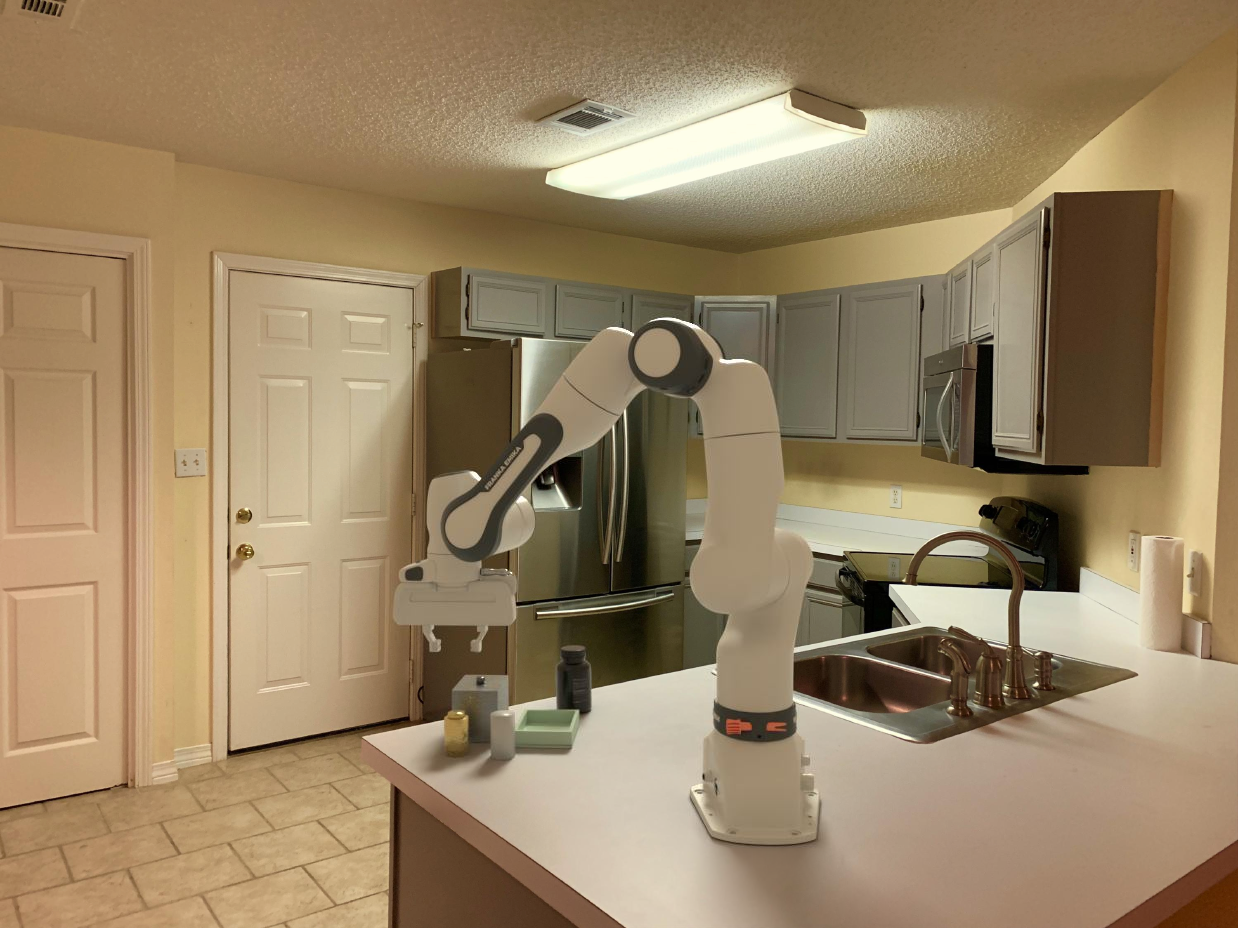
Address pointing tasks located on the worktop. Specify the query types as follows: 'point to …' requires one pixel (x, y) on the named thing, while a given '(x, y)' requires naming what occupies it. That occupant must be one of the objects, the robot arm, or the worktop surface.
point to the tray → (547, 728)
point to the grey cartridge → (502, 735)
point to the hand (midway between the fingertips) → (455, 651)
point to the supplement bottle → (573, 680)
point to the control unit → (480, 702)
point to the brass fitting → (456, 733)
